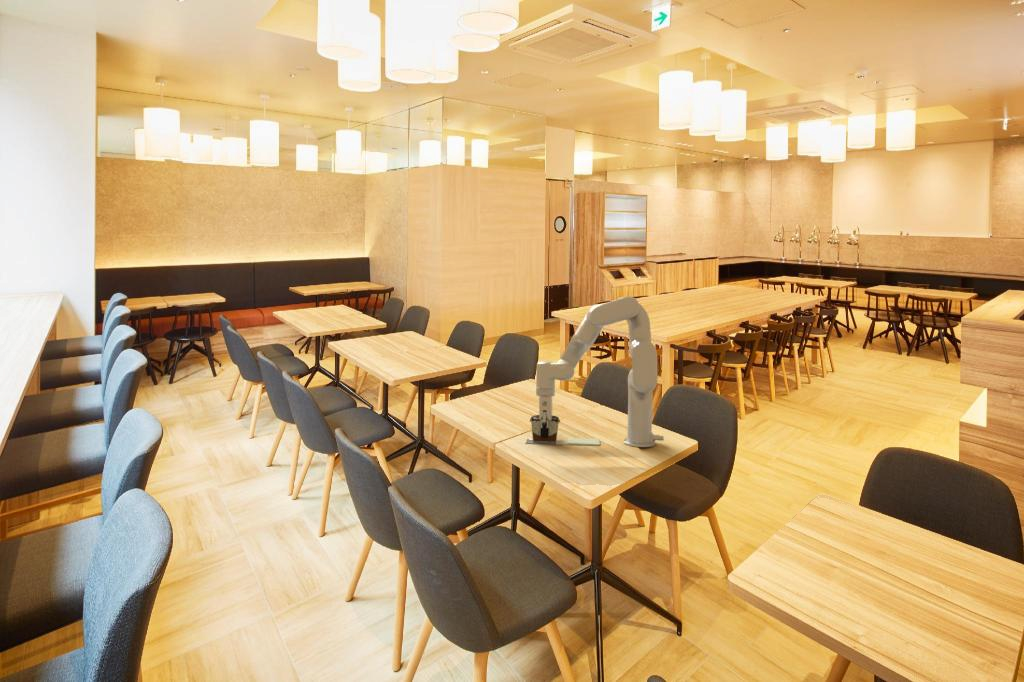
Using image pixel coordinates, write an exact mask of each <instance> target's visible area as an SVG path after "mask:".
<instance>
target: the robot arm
mask: <svg viewBox="0 0 1024 682" xmlns="http://www.w3.org/2000/svg"><path fill="white" fill-rule="evenodd" d="M622 321H623V322H624V321H626V323H627V325H628V326H627V327H628V354H629V357H630V358H631V364H632V365H631V367H632V368H631V369H630V370H629V373H628V375H627V392H628V394H627V395H628V396H627V397H628V399H627V402H628V404H627V433H626V435H627V437H625V438H624V439H623V440H622V441H623V442H622V443H623V444H624V445H627V446H629V447H634V448H635V447H636V448H651V447H654V446H655V445H656V441H659V442H660V441H661V442H663V441H664V435H660V434H654V433H653V432H652V429H653V427H652V425H653V423H652V422H653V402H654V401H653V390H655V388H656V387H657V384H658V380H659V379H658V352H657V348H656V346H655V345H654V344H653V343H652V334H651V333H652V331H651V323H650V322H651V321H650V317H649V314H648V312H647V311H646V309H645V308H644V307H643V305H641V304H640V303H639V301H638V300H637V299H636V298H635V297H633V296H630V295H629V296H621V297H619V298H617V299H615V300H612V301H608V302H604V303H600V304H594V305H592V306H591V307H590V308H589V309H588V311H587V312H586V314H585V316H584V317H583V319H582V321H581V323H580V324H579V325H578V327H577V329H576V330H575V332H574V334H573V335H572V337H571V339H570V341H569V343H568V344H567V345H566V348H565V349H564V351H563V353H561V356H560V358H559V359H558V361H556V362H553V361H550V360H549V361H548V360H542V361H538V362H537V363H536V386H535V390H536V391H535V395H536V396H537V397H538V412H539V413H538V415H539V417H540V420H541V436H540V437H541V438H548V437H549V428H548V420H550V421H551V420H552V415H553V397H554V396H555V395H556V392H555V391H556V380H557V381H561V382H562V381H564V382H567V381H569V380H572V378H574V375H575V369H576V367H577V366H578V364H579V362H580V361H581V359H582V358H583V356H584V355H585V354H586V353H587V351H589V350H590V349H591V348H592V347H593V345H594V343H595V342H596V339H597V338H598V337H599V334H600V333H601V332H602V330H603V328H604V327H605V326H609V325H613V324H615V323H619V322H622ZM542 419H543V420H542ZM546 419H547V420H546Z"/></svg>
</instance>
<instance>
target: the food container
mask: <svg viewBox="0 0 1024 682" xmlns="http://www.w3.org/2000/svg"><path fill="white" fill-rule="evenodd" d="M542 420H543V419H542ZM546 420H547V419H546ZM529 423H531V424H530V425H531V434H532V435H531V436H532V438H533V442H556V440H557V438H558V431H559V424H560V423H561V420H560V417H559V416H557V415H553V414H552V420H551V421H550V420H548V428H549V437H548V438H541V437H540V436H541V420H540V417H539V414H535V415H532V416H531V417H530V418H529Z"/></svg>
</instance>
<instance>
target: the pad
mask: <svg viewBox="0 0 1024 682" xmlns="http://www.w3.org/2000/svg"><path fill="white" fill-rule="evenodd" d="M566 445H568V446H569V445H571V446H597V447H598V446H599V447H600V446H601V443H600V439H599V438H582V437H579V438H578V437H577V438H576V437H567V439H566Z"/></svg>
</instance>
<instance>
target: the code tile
mask: <svg viewBox="0 0 1024 682" xmlns="http://www.w3.org/2000/svg"><path fill="white" fill-rule="evenodd" d="M525 445H550V446H551V445H552V446H553V445H554V446H563V445H564V440H556V442H533V440H529V439H527V438H526V440H525Z"/></svg>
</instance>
